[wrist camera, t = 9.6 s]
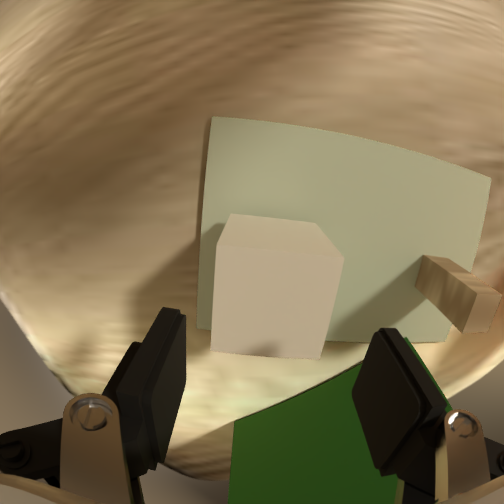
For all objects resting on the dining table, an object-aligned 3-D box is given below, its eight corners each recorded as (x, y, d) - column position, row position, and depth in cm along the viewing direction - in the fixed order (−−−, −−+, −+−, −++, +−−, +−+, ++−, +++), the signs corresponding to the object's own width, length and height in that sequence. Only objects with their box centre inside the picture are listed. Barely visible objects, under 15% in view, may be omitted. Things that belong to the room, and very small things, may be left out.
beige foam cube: (230, 213, 18) (216, 244, 12) (315, 222, 18) (344, 257, 12) (224, 291, 20) (210, 351, 13) (302, 298, 20) (319, 359, 13)
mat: (212, 117, 18) (212, 116, 17) (488, 177, 18) (491, 178, 18) (197, 325, 22) (196, 328, 22) (442, 339, 23) (444, 341, 22)
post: (423, 254, 20) (477, 293, 13) (447, 258, 20) (502, 295, 13) (414, 286, 20) (462, 333, 14) (438, 288, 21) (487, 332, 14)
